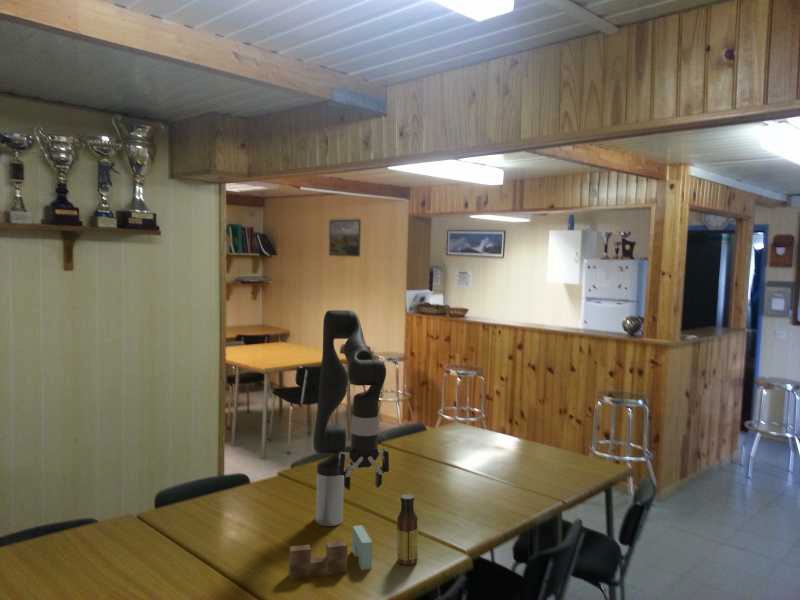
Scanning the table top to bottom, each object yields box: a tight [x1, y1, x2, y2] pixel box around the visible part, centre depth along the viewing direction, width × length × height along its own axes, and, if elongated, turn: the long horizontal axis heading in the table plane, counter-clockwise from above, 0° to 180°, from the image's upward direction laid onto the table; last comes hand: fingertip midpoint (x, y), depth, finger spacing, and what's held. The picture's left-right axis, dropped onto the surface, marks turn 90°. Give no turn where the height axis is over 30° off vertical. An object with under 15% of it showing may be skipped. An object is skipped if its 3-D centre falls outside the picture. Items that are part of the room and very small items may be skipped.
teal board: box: [351, 525, 373, 571], centre depth 181 cm, size 12×3×8 cm, turn 18°
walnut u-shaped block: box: [288, 540, 348, 580], centre depth 172 cm, size 16×3×8 cm, turn 108°
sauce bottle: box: [396, 493, 419, 566], centre depth 181 cm, size 7×6×20 cm
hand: (362, 487), depth 170 cm, fingers open, 8 cm apart
